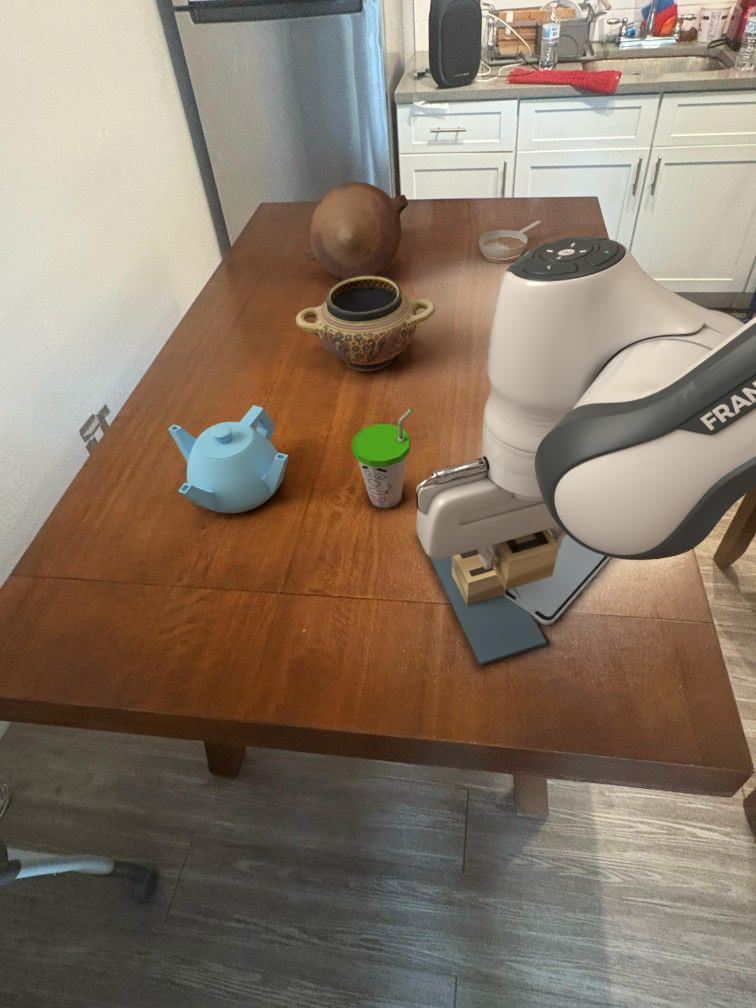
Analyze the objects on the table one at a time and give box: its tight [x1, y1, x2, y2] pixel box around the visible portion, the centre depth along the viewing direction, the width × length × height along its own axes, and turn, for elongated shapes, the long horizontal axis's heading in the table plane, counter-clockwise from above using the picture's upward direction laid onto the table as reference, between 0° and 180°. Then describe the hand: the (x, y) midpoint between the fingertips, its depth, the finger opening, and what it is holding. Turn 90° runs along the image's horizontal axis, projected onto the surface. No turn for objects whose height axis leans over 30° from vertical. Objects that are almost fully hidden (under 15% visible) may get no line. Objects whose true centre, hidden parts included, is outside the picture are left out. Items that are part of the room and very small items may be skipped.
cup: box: [351, 407, 414, 509], centre depth 81 cm, size 8×8×15 cm
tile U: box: [452, 550, 506, 605], centre depth 72 cm, size 5×5×5 cm
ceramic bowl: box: [295, 275, 436, 372], centre depth 108 cm, size 24×18×15 cm
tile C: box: [493, 530, 559, 590], centre depth 58 cm, size 5×5×5 cm
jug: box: [304, 181, 409, 281], centre depth 133 cm, size 20×20×30 cm
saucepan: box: [478, 220, 542, 264], centre depth 139 cm, size 11×18×4 cm, turn 130°
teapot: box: [168, 404, 289, 514], centre depth 87 cm, size 15×15×11 cm
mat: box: [428, 556, 547, 666], centre depth 74 cm, size 20×8×1 cm, turn 17°
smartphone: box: [504, 535, 612, 626], centre depth 75 cm, size 7×1×15 cm
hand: (519, 553), depth 59 cm, fingers closed on tile C, 5 cm apart
